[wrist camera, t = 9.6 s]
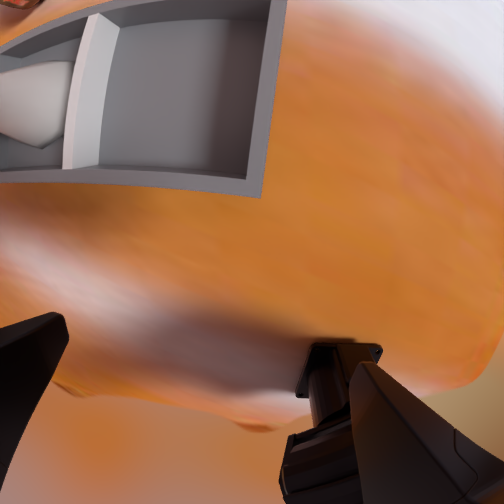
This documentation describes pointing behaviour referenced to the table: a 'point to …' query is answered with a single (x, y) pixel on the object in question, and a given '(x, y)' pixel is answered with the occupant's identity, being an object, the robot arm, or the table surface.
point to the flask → (35, 102)
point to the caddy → (157, 95)
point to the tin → (19, 3)
